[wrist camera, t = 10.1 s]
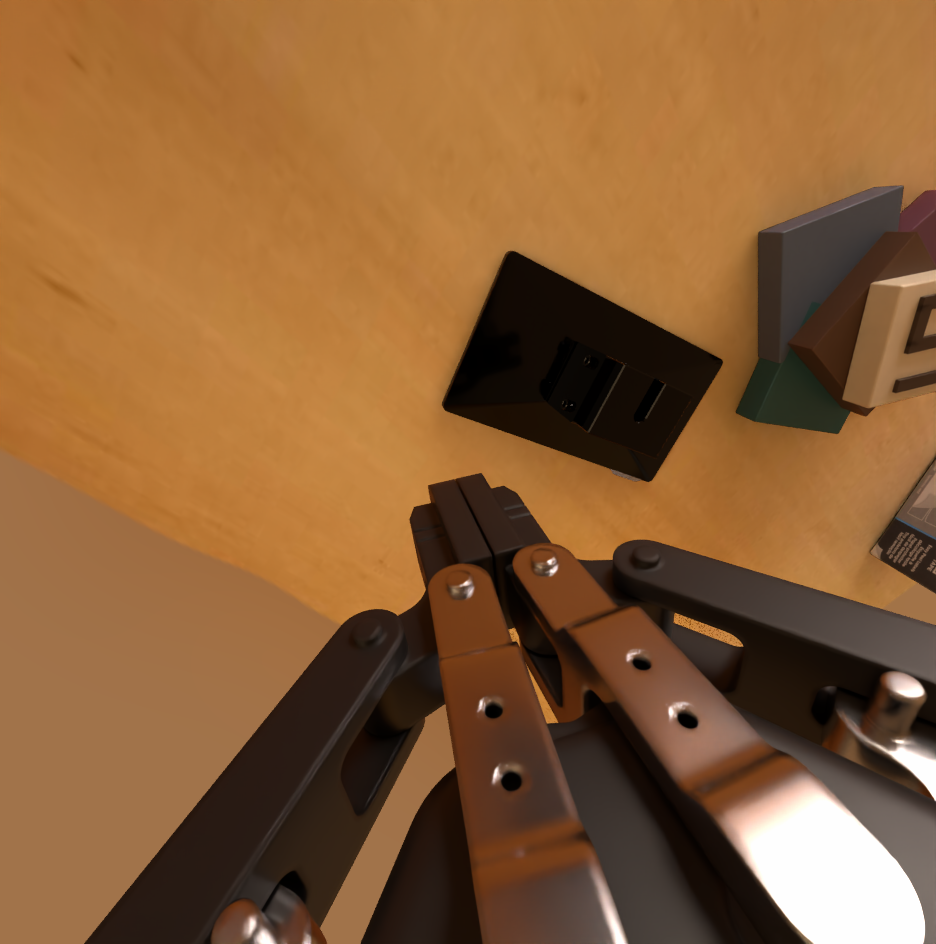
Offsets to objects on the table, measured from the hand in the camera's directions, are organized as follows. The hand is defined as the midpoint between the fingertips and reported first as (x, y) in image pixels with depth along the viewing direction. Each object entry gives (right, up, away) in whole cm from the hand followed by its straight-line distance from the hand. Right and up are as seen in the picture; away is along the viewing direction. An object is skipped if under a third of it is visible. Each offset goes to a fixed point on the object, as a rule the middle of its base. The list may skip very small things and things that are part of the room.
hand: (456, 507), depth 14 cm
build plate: (+6, +5, +10) cm, 12 cm away
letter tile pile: (+20, +9, +12) cm, 25 cm away
